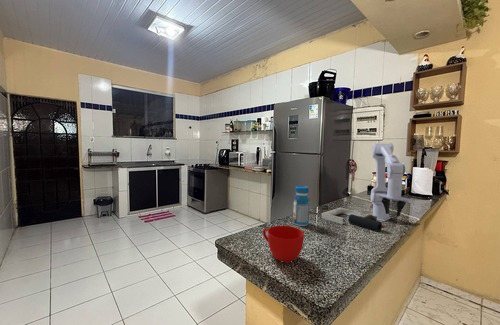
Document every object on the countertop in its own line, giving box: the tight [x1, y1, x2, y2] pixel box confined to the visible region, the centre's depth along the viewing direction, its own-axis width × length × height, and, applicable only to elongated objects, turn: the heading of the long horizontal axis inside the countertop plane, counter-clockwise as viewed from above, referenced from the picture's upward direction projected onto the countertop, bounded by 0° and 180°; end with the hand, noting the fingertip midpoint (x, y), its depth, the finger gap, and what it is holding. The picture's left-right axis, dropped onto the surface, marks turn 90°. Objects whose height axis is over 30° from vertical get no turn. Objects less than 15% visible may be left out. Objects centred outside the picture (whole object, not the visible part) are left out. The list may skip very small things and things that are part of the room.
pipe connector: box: [347, 214, 383, 233], centre depth 118 cm, size 12×5×15 cm
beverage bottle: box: [292, 185, 311, 227], centre depth 118 cm, size 8×8×20 cm
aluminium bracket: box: [321, 207, 362, 225], centre depth 131 cm, size 21×13×3 cm, turn 129°
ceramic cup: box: [262, 225, 305, 263], centre depth 83 cm, size 13×17×10 cm
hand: (392, 214), depth 110 cm, fingers open, 4 cm apart
